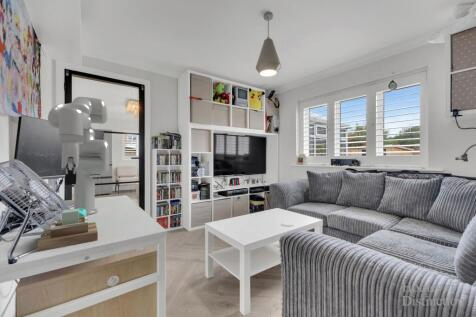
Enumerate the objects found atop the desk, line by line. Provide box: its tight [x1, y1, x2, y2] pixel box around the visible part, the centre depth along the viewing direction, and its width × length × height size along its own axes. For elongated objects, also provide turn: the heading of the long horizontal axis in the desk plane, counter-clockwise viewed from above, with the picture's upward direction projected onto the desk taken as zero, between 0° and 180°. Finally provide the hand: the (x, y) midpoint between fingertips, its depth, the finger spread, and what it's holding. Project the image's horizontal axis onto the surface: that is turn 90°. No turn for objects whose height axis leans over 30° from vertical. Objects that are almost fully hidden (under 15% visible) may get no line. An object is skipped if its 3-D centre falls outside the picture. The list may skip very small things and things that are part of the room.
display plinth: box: [37, 215, 99, 252], centre depth 84 cm, size 16×17×7 cm
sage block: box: [61, 208, 79, 225], centre depth 84 cm, size 5×5×5 cm
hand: (71, 183), depth 84 cm, fingers open, 9 cm apart
